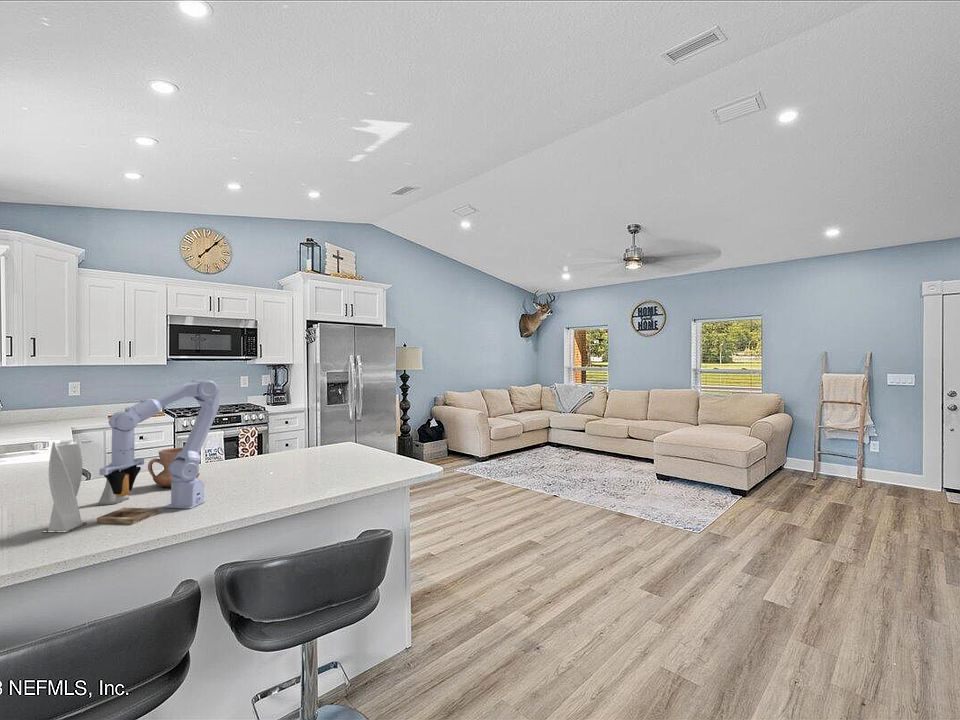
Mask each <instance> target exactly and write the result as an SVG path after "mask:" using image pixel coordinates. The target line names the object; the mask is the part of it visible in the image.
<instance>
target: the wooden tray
mask: <svg viewBox="0 0 960 720" xmlns="http://www.w3.org/2000/svg"><path fill="white" fill-rule="evenodd" d="M158 514H159V509H158V508H148V507H147V508H146V507H145V508H144V507H122V508H119V509H117V510H114V511H111V512H109V513H106V514H103V515H101V516H98V517H96V522H98V523H97V524H113V523H122V524H121V525H134V523H135V524H137V523H139V522H141V520H142V521H143V519H144V520H146V519H148V517H149V518H151V517H154V516H155V515H158ZM119 516H121V517H119ZM150 516H151V517H150ZM145 518H146V519H145ZM138 521H139V522H138ZM136 522H137V523H136Z"/></svg>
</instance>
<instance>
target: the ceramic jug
mask: <svg viewBox="0 0 960 720" xmlns="http://www.w3.org/2000/svg"><path fill="white" fill-rule="evenodd" d="M183 448H184V446H183V447H174V448H164V449H161V450H158V457H159V458H153V459H151V460H150V461H148V463H147V470H148V472H149V474H150V476H151V477H152V481H154V483H155V484H156V485H158V486H160V487H164V488H171V479H172V475H171V474H170V473H169V471H168V467H169V465H170V463H171V462H172V461H173V460H174V459H175V458H176V456H177V454H178V453H179V452H181V451H182V450H183ZM199 456H200V459H201V458H202V455H200V454H199ZM154 463H157V464H159V465H162V466H163V470H162V471H160V472H159V473H158V474H156V473H155V472H154V470H153V464H154ZM199 476H200V472H198V474H197V476H196V479H198V478H199Z"/></svg>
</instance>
